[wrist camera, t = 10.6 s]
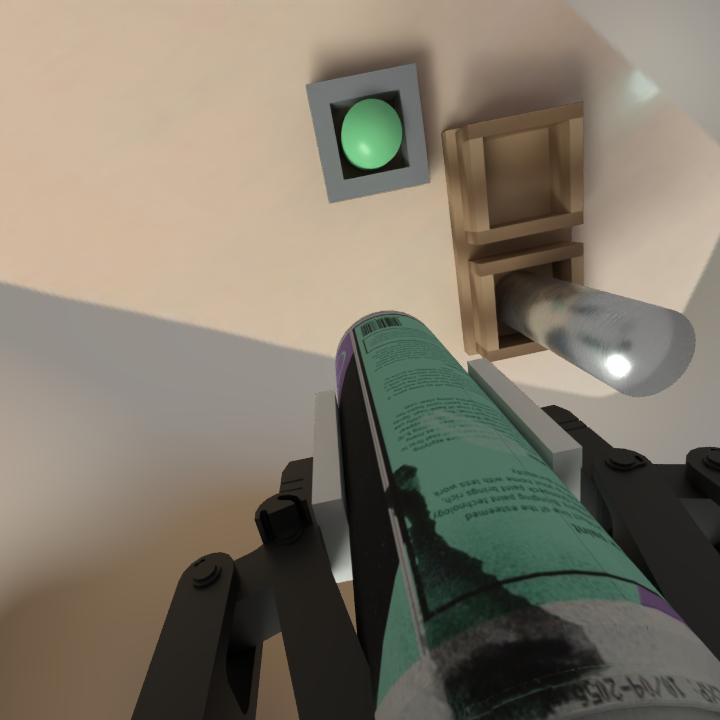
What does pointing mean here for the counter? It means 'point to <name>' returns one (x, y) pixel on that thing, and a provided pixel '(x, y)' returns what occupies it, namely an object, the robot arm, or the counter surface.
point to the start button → (370, 134)
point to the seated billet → (599, 331)
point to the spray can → (489, 559)
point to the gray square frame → (347, 94)
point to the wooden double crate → (513, 213)
